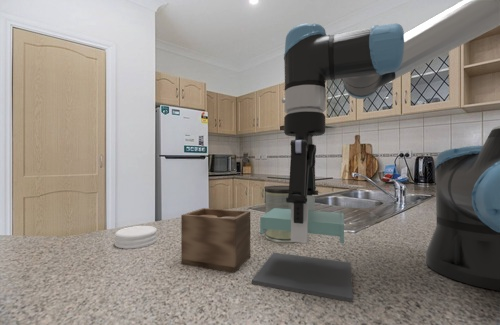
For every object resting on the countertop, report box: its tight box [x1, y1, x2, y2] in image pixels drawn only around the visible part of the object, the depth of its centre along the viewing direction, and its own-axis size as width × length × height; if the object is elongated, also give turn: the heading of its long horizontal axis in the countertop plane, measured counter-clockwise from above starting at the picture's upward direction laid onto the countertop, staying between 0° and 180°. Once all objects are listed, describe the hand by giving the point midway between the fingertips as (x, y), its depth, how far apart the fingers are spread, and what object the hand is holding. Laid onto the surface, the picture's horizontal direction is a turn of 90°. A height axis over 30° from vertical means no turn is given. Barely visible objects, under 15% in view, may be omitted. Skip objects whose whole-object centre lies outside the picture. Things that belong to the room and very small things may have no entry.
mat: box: [251, 252, 354, 303], centre depth 45 cm, size 16×14×1 cm
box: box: [180, 207, 251, 273], centre depth 52 cm, size 12×8×10 cm
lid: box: [259, 208, 345, 244], centre depth 46 cm, size 14×10×3 cm
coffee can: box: [264, 185, 293, 244], centre depth 68 cm, size 10×10×14 cm
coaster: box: [114, 225, 158, 250], centre depth 64 cm, size 10×10×4 cm
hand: (303, 233), depth 46 cm, fingers closed on lid, 9 cm apart
